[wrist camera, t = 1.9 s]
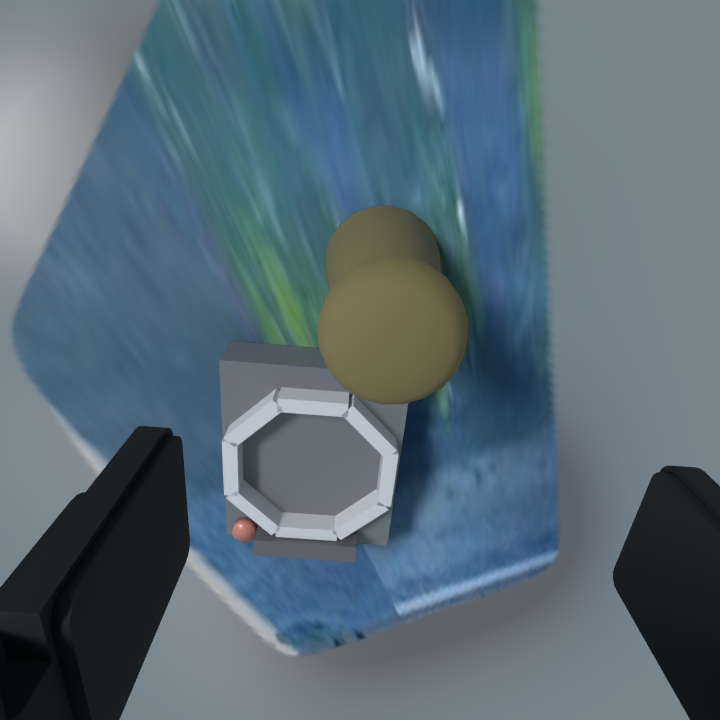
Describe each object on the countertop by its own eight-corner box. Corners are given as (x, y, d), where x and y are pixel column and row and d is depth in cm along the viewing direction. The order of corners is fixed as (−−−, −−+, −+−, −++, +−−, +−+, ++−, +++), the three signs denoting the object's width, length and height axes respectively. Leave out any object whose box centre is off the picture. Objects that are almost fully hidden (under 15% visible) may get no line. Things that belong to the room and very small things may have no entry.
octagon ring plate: (231, 341, 27) (210, 373, 23) (408, 355, 27) (415, 389, 24) (236, 505, 32) (220, 553, 29) (385, 516, 32) (388, 564, 29)
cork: (464, 264, 25) (531, 351, 15) (382, 340, 27) (392, 462, 17) (383, 178, 23) (398, 212, 13) (300, 266, 25) (260, 353, 15)
